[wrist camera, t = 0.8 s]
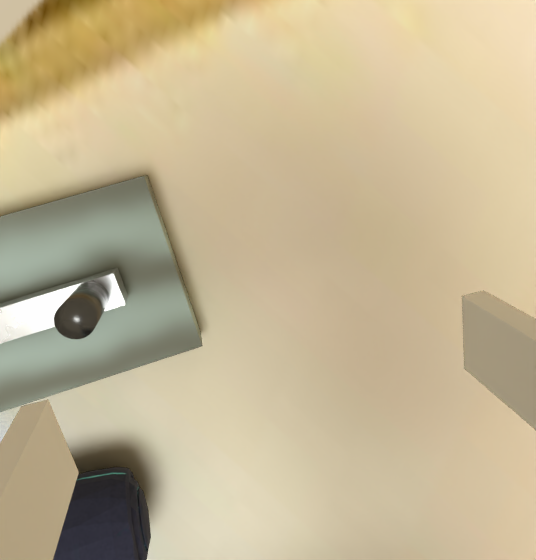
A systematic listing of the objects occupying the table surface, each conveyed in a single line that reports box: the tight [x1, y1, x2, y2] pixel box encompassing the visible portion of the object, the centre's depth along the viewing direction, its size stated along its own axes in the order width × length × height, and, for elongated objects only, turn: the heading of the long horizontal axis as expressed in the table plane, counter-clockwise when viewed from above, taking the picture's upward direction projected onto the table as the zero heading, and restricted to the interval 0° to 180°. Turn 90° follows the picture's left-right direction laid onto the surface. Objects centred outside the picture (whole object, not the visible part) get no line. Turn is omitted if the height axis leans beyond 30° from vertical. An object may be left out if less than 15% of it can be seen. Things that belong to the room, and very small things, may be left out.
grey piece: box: [0, 268, 128, 344], centre depth 30 cm, size 2×10×7 cm, turn 105°
